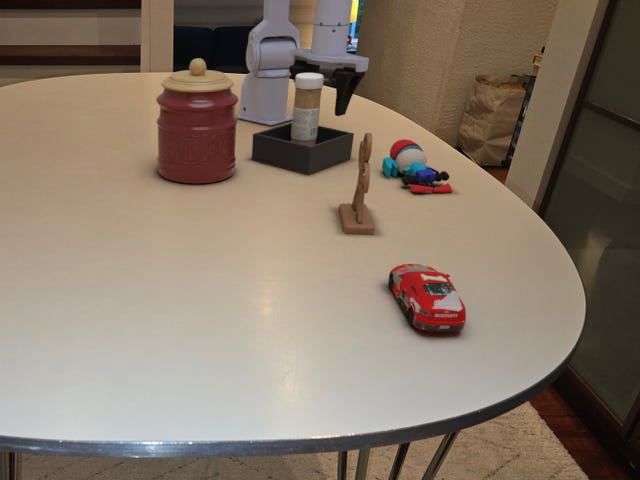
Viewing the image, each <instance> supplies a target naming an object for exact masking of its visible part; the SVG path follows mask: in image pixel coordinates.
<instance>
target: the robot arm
mask: <svg viewBox="0 0 640 480" xmlns="http://www.w3.org/2000/svg"><path fill="white" fill-rule="evenodd" d="M353 1H354V0H315V8H314V18H313V27H312V37H311V47H310V48H301V47H302V46H301V43H300V42H301V41H300V39H301V38H300V35H301V33H300V31H299V30H298V28H297V27H296V26H294V25H293V23H292V22H291V21H289V17H290V16H289V15H290V0H263V19H262V21H261V22H259V23H258V24H257V25H256V26H255V27H253V29H251V30H250V31H249V34H248V41H247V47H246V50H245V51H246V52H245V63H246V68H247V70H248V71H249V72H248V73H246V75H245V76H244V77H243V80H242V82H241V87H240V104H239V114H238V115H236V118H237V119H240V120H244V121H248V122H254V123H258V124H263V125H266V126H276V125H278V124H279V125H280V124H282V123H285V122H290V121H292V118H293V115H289V114H287V110H288V101H289V100H288V98H289V89H290V88H289V87H290V77H291V78H292V80H293V82H294V84H295V78H296V75H297V74H300V73H317V70H318V67H319V66H321V67H322V66H323V67H330V68H336V69H341V70H339V71H335V72H334V79H335V85H336V86H335V89H336V90H335V91H336V92H335V103H334V116H335V117H341V116H344V115H346V113H347V110H348V107H349V104H350V102H351V99H352V97H353V95H354V93H355V91H356V89H357V87H358V86H359V84H360V83H361V81H362V80H363V79H364V77H365V75H366V72H367V71H369V70H368V69H369V61H370V58H369V57H366V56H361V55H356V54H352V53H349V52H347V49H348V40H349V32H350V25H351V16H352V9H353ZM270 37H271V38H270ZM276 37H284V38H276Z"/></svg>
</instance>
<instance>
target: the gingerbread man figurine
mask: <svg viewBox="0 0 640 480" xmlns="http://www.w3.org/2000/svg"><path fill="white" fill-rule="evenodd" d="M372 149H373V134H372V132H365V133H364V135H363V140H361V141H360V143H359V148H358V160H357V161H358V163H357V164H358V176H357V184H356V187H355V190H354V195H353V198H352V203H339V205H338V213H339V214H338V215H339V217H340V220H341V225H342V229H343V232H344V234H347V235H348V234H349V235H350V234H351V235H375V231H376V227H375V224H374V222H373V219H372V216H371V214H370V210H369V208H368V206H367V204H366V203H365V194H368V193H369V188H370V181H371V180H370V179H371V166H370V162H369V161H370V159H371V156H372V155H371V154H372Z"/></svg>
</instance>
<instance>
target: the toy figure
mask: <svg viewBox="0 0 640 480" xmlns="http://www.w3.org/2000/svg"><path fill="white" fill-rule="evenodd" d="M427 160H428V159H427V156H426V154H425V153H424V150H423V149H422V147H421V146H420V145H419V144H418V143H416V141H413V140H410V139H405V138H404V139H399V140H397V141H395V142H394V143H393V144H392V145H391V147H390V150H389V157H384V158H383V159H382V166H381V169H382V171H383V173H384V175H385V177H386V178H388V179H391V175H392V176H393V177H394V178H397V175H398V174H399V173H401V174H402V175H403V177H401V182H402V184H403V185H404V186H405V187H406V186H409V188H410V189H411V191H412V192H413V193H415V194H417V193H428V192H433V193H438V194H439V193H441V194H442V193H443V194H445V193H446V194H447V193H452V192H453V188H452V186H451V185H450V183H449V182H447V181H449V179H450V174H449V173H448V172H447V171H445V170H443V171H441V172H440V171H438V170H437V169H434V168H433V167H430V165H427ZM443 181H444V182H447V183H445V184H442V185H439V186H437V187H436V185H435V184H434V183H435V182H437V183H440V182H443Z"/></svg>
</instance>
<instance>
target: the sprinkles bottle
mask: <svg viewBox="0 0 640 480" xmlns="http://www.w3.org/2000/svg"><path fill="white" fill-rule="evenodd" d="M324 79H325V77H324V75H323V74H321V73H318V72H316V73H300V74H297V75H296V78H295V83H294V87H295V91H294V101H293V109H292V110H293V111H292V116H293V118H292V120H291V123H292V128H291V142H294V143H298V144H303V145H307V146H313V145H315V143H316V138H317V130H318V126H319V121H320V111H321V98H322V97H321V95H322V90H323V87H324Z"/></svg>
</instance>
